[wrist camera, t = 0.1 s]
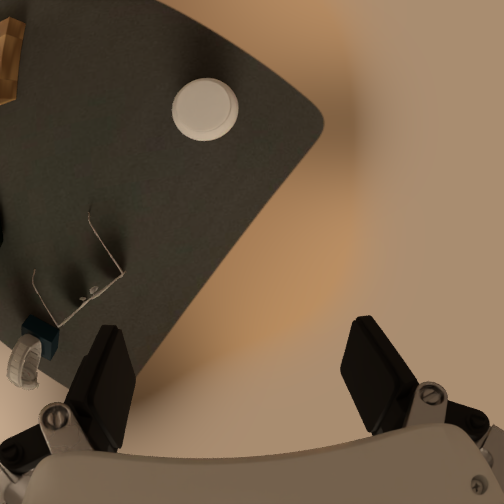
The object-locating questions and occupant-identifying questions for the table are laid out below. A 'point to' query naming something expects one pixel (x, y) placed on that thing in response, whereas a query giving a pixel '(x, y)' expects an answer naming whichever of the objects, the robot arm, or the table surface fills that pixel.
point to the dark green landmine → (1, 235)
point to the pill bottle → (205, 109)
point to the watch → (31, 352)
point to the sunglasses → (90, 289)
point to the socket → (10, 57)
